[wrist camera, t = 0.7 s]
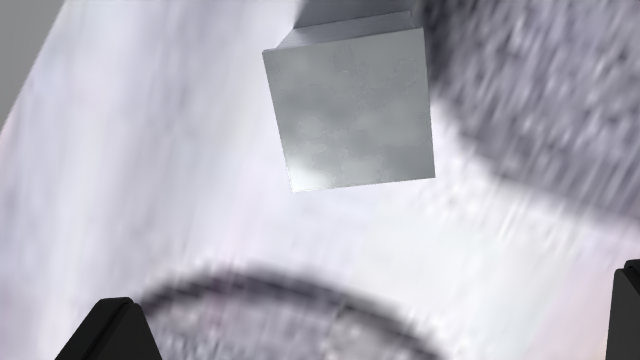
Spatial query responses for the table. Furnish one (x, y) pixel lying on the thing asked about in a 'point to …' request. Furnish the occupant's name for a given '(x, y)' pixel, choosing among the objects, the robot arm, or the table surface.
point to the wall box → (353, 102)
